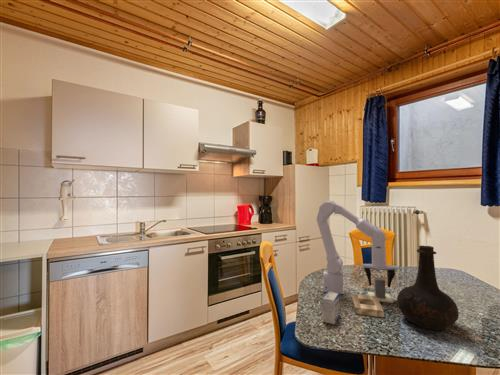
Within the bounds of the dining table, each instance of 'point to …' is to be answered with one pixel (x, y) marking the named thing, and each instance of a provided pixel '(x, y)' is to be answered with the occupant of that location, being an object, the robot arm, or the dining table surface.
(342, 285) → the robot arm
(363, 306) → the rail plate
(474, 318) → the dining table surface
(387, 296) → the pad
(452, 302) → the glass bottle
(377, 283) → the square peg
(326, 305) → the medicine box
